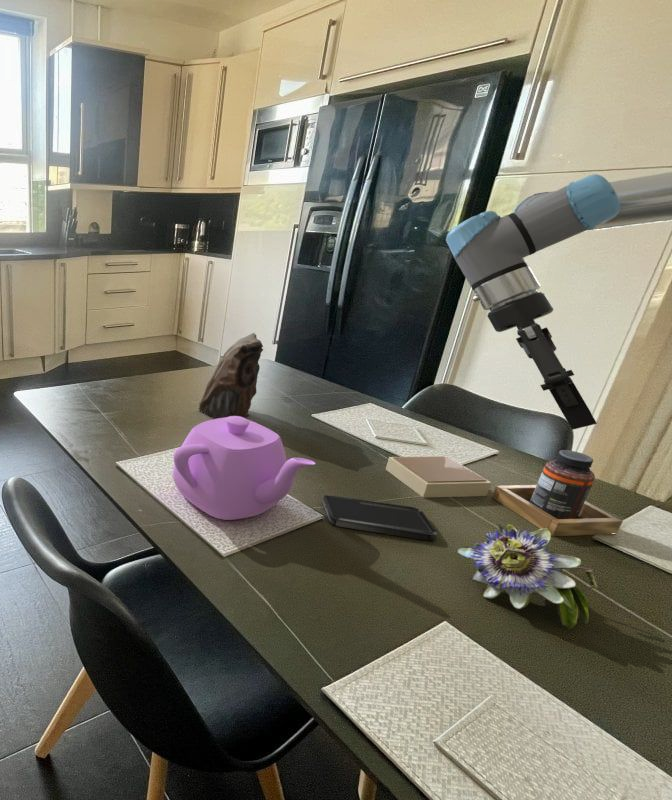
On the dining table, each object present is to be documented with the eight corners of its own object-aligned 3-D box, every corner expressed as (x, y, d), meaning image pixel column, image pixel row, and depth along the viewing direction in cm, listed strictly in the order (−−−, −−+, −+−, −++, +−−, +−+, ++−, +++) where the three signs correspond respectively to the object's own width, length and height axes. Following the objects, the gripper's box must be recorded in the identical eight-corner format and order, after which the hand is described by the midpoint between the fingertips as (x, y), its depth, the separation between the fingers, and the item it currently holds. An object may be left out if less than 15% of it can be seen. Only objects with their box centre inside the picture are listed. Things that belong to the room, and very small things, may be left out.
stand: (442, 468, 96) (447, 454, 95) (486, 496, 87) (491, 481, 86) (385, 469, 95) (389, 456, 94) (423, 497, 86) (427, 483, 85)
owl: (240, 405, 125) (252, 330, 118) (270, 425, 114) (285, 343, 107) (196, 409, 123) (205, 332, 115) (221, 430, 111) (233, 345, 104)
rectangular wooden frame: (548, 496, 87) (553, 484, 86) (616, 534, 77) (623, 521, 76) (491, 497, 86) (496, 485, 85) (552, 536, 76) (558, 523, 75)
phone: (439, 536, 74) (332, 519, 77) (437, 542, 74) (330, 525, 78) (420, 507, 81) (322, 493, 84) (418, 513, 81) (321, 498, 85)
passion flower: (477, 629, 66) (436, 544, 67) (524, 593, 69) (484, 513, 71) (581, 650, 55) (530, 549, 56) (630, 606, 59) (581, 512, 60)
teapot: (140, 491, 86) (146, 414, 81) (227, 465, 96) (238, 394, 90) (234, 571, 68) (251, 477, 62) (332, 529, 77) (354, 444, 71)
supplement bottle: (565, 510, 83) (592, 451, 79) (581, 529, 78) (611, 467, 74) (521, 501, 85) (545, 444, 81) (534, 519, 80) (561, 459, 76)
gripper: (491, 315, 92) (550, 419, 87) (477, 309, 74) (550, 440, 70) (543, 294, 86) (608, 404, 82) (541, 283, 69) (624, 422, 64)
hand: (582, 421), depth 76 cm, fingers open, 13 cm apart
